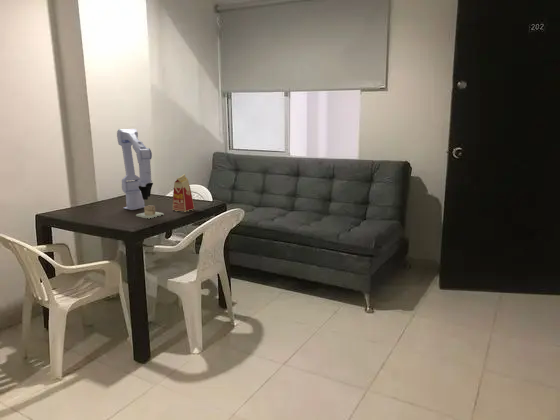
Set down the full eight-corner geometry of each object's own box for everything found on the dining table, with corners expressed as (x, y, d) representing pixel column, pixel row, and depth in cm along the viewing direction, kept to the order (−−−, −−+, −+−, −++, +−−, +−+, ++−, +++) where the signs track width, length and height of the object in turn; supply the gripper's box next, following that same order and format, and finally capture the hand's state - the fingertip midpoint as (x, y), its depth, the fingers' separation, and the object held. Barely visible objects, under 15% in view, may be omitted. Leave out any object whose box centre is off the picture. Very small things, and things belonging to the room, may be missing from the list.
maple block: (148, 212, 247) (147, 205, 247) (155, 213, 247) (154, 205, 246) (144, 214, 244) (144, 207, 243) (151, 214, 243) (151, 207, 242)
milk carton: (182, 207, 264) (181, 172, 260) (195, 209, 260) (193, 174, 255) (171, 211, 257) (169, 174, 252) (183, 212, 252) (182, 176, 248)
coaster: (151, 212, 252) (151, 210, 252) (164, 215, 247) (163, 213, 246) (136, 216, 244) (136, 214, 244) (149, 218, 239) (149, 216, 238)
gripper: (139, 170, 247) (141, 195, 250) (134, 174, 233) (136, 201, 236) (153, 170, 248) (154, 195, 251) (148, 174, 234) (150, 200, 237)
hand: (146, 198), depth 244 cm, fingers open, 7 cm apart
